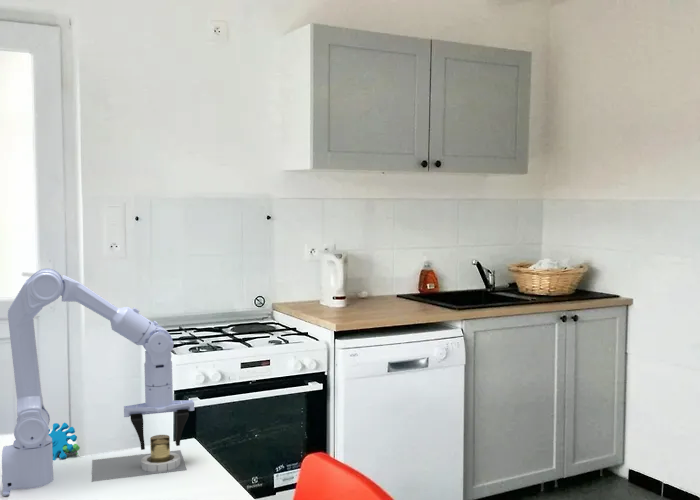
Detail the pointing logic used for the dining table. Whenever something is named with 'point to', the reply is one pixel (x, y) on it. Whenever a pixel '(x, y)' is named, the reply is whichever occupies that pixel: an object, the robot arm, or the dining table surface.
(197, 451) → the dining table surface
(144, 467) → the housing plate
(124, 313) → the robot arm
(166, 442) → the brass shaft
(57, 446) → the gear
